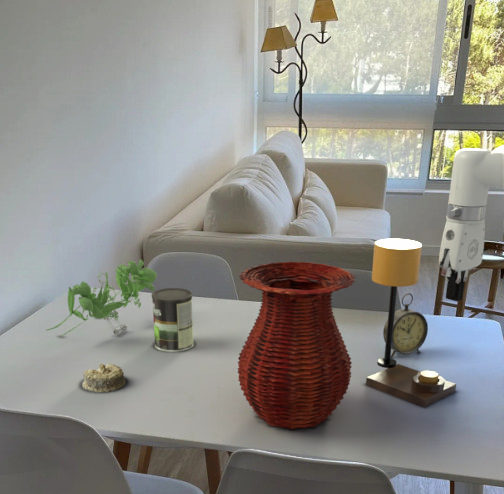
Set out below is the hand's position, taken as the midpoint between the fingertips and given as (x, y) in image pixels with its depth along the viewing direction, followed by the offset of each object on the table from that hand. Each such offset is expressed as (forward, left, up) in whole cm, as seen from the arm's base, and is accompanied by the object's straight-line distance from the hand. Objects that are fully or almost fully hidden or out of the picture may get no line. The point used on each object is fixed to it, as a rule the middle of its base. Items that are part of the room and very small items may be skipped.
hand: (453, 299), depth 152 cm
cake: (+53, +56, -21) cm, 80 cm away
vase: (+13, +35, -21) cm, 43 cm away
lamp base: (+4, +6, -21) cm, 22 cm away
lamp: (+11, +6, -17) cm, 21 cm away
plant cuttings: (+83, +37, -21) cm, 94 cm away
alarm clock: (+18, -10, -21) cm, 30 cm away
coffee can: (+62, +29, -21) cm, 72 cm away
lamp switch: (0, +6, -18) cm, 19 cm away
